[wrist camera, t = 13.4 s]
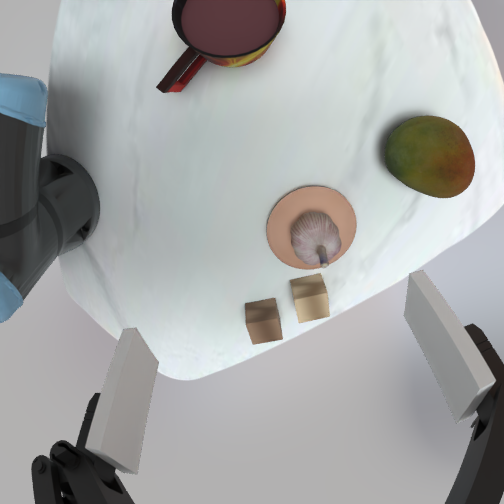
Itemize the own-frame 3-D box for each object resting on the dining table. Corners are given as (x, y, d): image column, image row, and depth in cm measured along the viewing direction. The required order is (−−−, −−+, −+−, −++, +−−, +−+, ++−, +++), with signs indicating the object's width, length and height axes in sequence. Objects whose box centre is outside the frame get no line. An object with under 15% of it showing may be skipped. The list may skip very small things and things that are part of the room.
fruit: (450, 174, 39) (489, 199, 30) (385, 198, 41) (417, 229, 32) (438, 103, 33) (482, 114, 25) (366, 123, 35) (401, 137, 27)
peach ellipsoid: (275, 272, 47) (276, 277, 46) (257, 195, 40) (257, 198, 39) (355, 255, 46) (358, 259, 45) (350, 176, 39) (352, 179, 38)
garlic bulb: (321, 261, 45) (334, 294, 38) (277, 246, 43) (284, 279, 36) (346, 218, 41) (365, 247, 34) (300, 199, 40) (312, 226, 33)
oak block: (294, 302, 51) (298, 323, 46) (289, 279, 48) (294, 300, 44) (323, 296, 50) (329, 316, 46) (320, 272, 48) (327, 292, 43)
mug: (176, 90, 33) (147, 93, 22) (205, -7, 26) (189, -42, 16) (251, 106, 34) (255, 114, 24) (281, 9, 28) (298, -21, 17)
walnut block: (251, 323, 53) (252, 344, 49) (245, 303, 50) (245, 324, 46) (279, 318, 52) (282, 339, 48) (274, 297, 50) (277, 318, 46)
